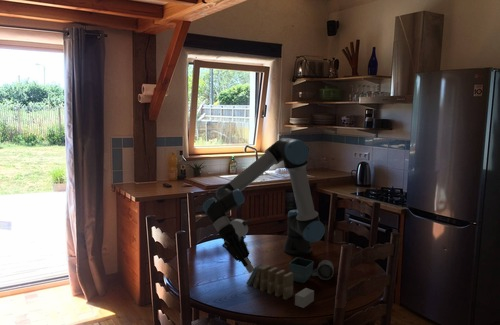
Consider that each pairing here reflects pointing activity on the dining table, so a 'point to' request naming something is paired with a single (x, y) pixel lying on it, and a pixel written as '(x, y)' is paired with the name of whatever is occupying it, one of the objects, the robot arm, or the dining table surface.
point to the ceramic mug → (324, 270)
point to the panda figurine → (240, 227)
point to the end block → (304, 297)
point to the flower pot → (301, 269)
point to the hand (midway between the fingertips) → (251, 271)
